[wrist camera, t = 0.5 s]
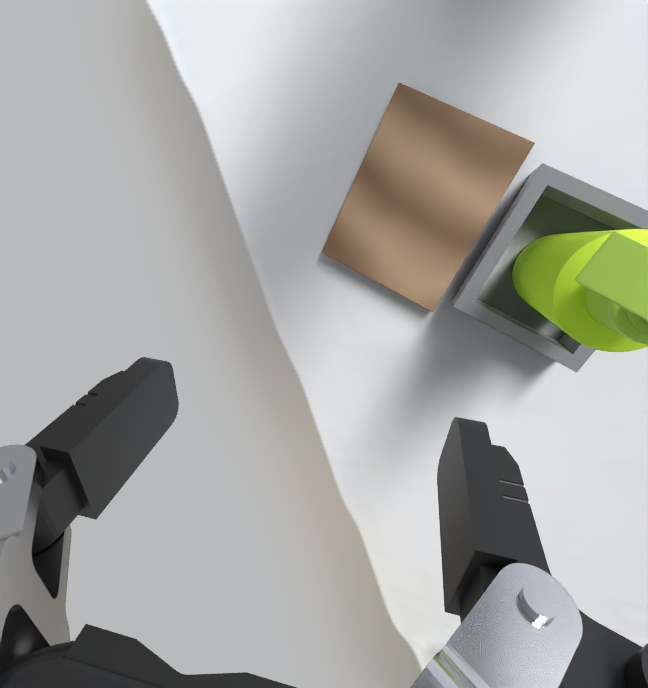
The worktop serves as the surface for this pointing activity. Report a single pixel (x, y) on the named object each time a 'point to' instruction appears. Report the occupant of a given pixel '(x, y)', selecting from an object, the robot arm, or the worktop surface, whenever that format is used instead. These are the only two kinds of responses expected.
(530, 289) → the soap dispenser
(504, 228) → the tray
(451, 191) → the board
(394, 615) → the worktop surface
